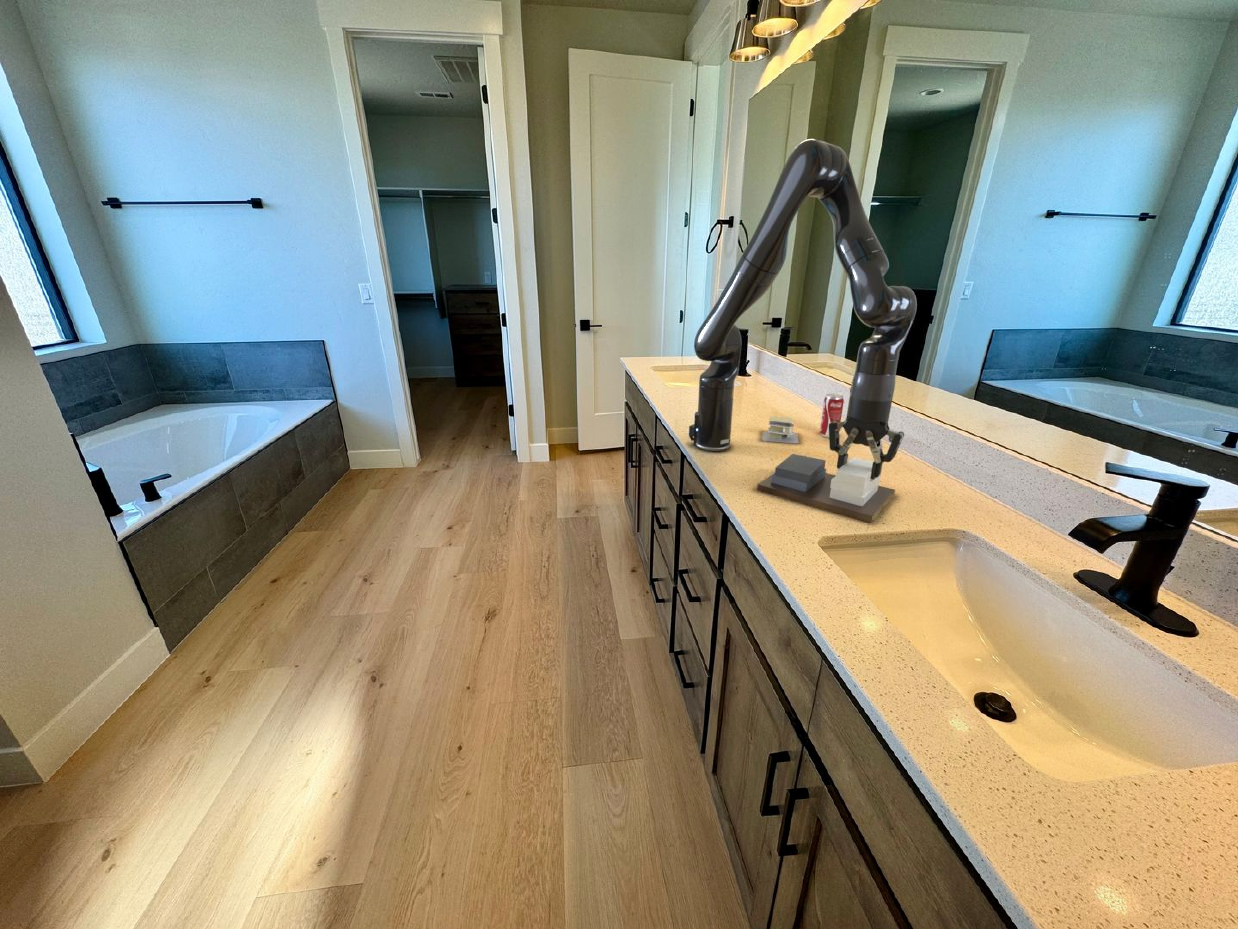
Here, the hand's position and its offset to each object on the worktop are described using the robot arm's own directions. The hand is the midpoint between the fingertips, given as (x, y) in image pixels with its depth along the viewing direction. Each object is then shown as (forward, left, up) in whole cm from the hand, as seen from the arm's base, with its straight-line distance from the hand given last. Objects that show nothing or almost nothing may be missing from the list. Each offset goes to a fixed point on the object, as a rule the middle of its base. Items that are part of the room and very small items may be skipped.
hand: (857, 474), depth 102 cm
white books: (0, 0, -4) cm, 4 cm away
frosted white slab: (0, 0, 0) cm, 0 cm away
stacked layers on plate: (-30, +30, -6) cm, 43 cm away
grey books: (-12, 0, -4) cm, 13 cm away
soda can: (-20, +41, -6) cm, 46 cm away
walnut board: (-6, 0, -6) cm, 8 cm away
